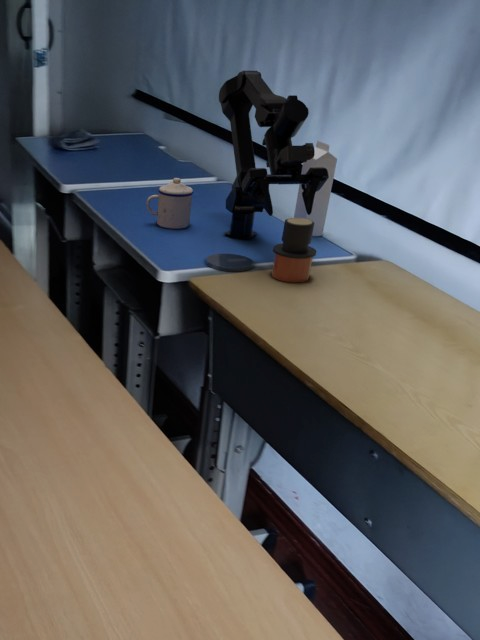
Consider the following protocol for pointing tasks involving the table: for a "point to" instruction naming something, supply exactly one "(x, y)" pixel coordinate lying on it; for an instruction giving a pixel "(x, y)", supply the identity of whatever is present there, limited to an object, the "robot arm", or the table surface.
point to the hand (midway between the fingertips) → (290, 214)
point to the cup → (291, 268)
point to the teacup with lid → (173, 205)
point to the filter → (296, 239)
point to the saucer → (229, 262)
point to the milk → (323, 195)
